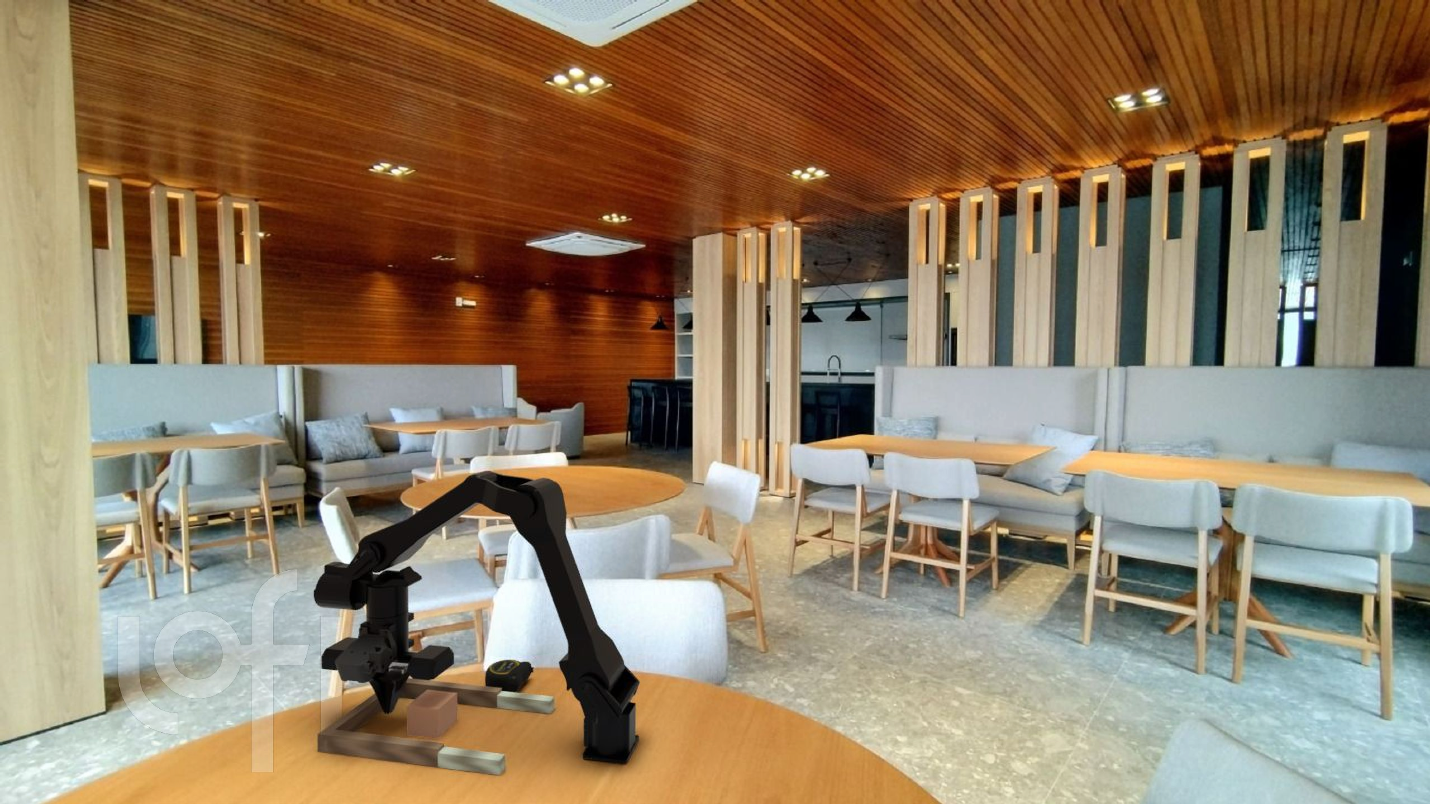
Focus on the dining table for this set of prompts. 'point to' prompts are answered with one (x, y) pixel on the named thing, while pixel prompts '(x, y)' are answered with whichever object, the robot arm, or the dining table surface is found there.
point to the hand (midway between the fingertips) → (388, 712)
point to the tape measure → (508, 674)
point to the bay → (421, 752)
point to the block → (432, 714)
